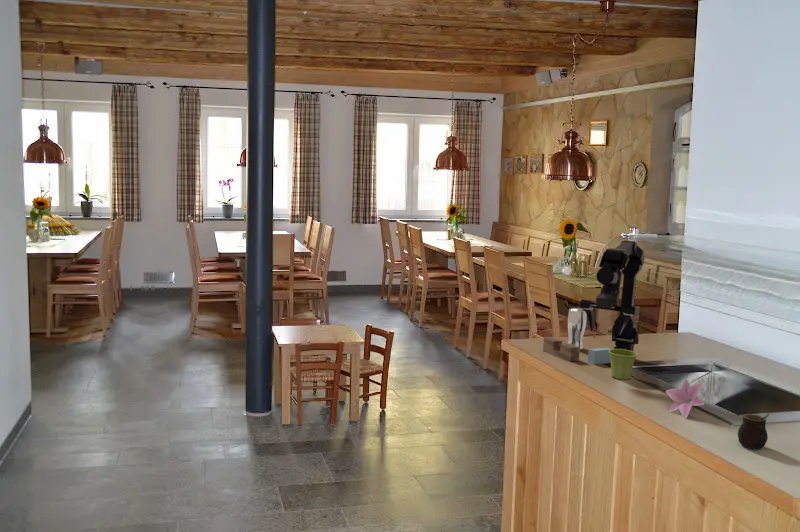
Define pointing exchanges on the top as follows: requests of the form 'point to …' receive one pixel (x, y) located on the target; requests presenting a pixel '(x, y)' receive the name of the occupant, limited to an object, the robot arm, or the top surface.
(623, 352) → the plant pot
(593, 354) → the light blue block
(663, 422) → the top surface
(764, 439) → the mate gourd
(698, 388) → the lily
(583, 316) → the beer glass
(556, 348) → the rail
